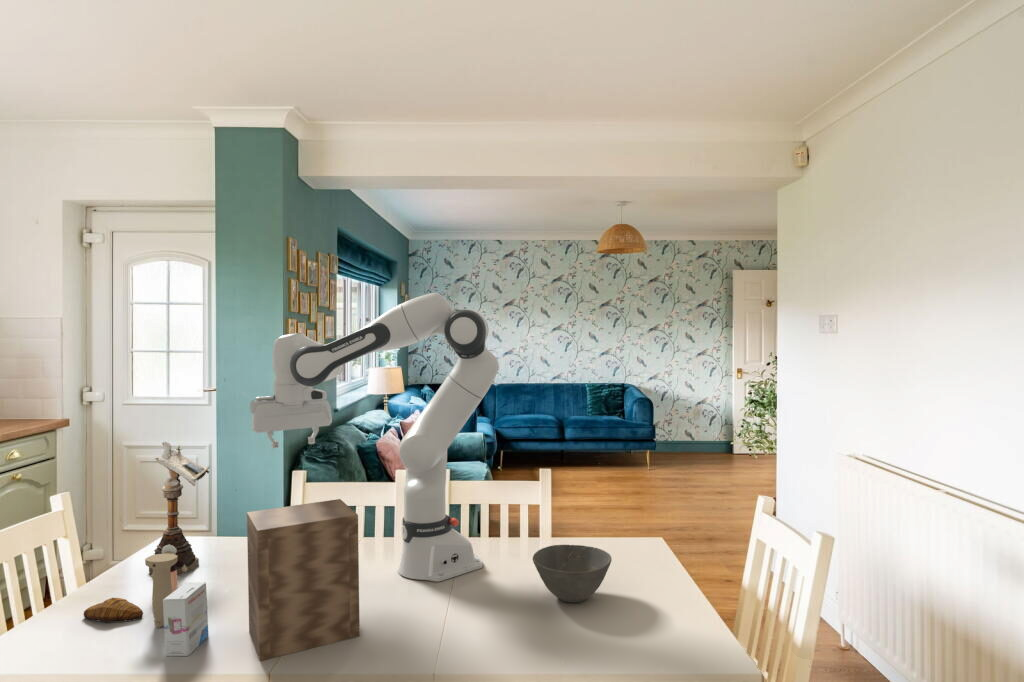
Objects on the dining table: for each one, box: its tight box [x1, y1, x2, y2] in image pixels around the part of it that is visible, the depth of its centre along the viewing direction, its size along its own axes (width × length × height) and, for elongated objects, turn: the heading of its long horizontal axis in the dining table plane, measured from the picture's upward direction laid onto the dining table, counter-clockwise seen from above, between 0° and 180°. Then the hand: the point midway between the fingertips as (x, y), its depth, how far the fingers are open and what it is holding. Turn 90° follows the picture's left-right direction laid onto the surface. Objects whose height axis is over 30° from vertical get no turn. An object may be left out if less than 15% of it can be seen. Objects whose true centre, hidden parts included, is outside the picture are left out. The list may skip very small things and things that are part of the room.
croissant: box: [82, 597, 144, 623], centre depth 147 cm, size 14×7×5 cm, turn 86°
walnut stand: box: [246, 498, 361, 662], centre depth 139 cm, size 20×14×26 cm
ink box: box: [163, 581, 209, 657], centre depth 134 cm, size 9×5×12 cm, turn 178°
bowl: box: [532, 544, 613, 603], centre depth 157 cm, size 19×19×10 cm
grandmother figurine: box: [150, 544, 187, 593], centre depth 158 cm, size 8×4×13 cm, turn 131°
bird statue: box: [148, 440, 211, 576], centre depth 176 cm, size 17×13×35 cm
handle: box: [144, 553, 177, 629], centre depth 144 cm, size 5×6×15 cm
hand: (293, 445), depth 174 cm, fingers open, 8 cm apart
